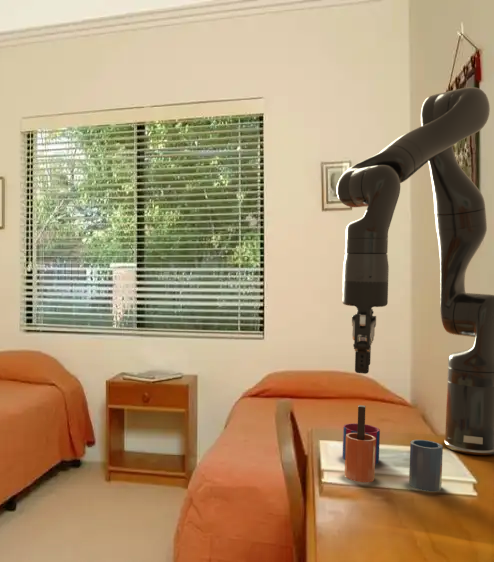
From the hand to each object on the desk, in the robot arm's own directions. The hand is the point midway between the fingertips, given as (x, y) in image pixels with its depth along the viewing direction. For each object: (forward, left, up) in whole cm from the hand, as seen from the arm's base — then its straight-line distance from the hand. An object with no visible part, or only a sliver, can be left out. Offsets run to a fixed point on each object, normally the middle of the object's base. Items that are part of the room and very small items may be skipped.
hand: (362, 368), depth 107 cm
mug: (-6, -7, -21) cm, 22 cm away
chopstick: (0, 0, -20) cm, 20 cm away
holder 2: (-8, +7, -20) cm, 23 cm away
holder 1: (0, 0, -20) cm, 20 cm away
